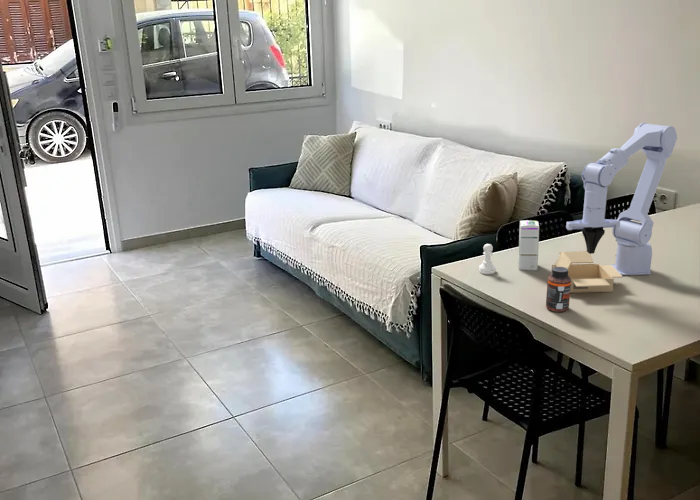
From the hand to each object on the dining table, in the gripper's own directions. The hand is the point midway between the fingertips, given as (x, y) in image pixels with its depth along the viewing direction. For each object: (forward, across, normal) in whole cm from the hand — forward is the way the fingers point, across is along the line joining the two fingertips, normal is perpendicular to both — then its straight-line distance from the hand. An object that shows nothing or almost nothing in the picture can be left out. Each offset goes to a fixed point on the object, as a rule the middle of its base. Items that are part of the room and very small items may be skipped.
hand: (590, 252), depth 187 cm
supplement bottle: (+10, +14, +15) cm, 23 cm away
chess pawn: (+10, +26, -14) cm, 31 cm away
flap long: (+5, +8, 0) cm, 10 cm away
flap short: (+5, +1, -6) cm, 8 cm away
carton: (+10, +1, +2) cm, 10 cm away
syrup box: (+10, +13, -16) cm, 23 cm away
